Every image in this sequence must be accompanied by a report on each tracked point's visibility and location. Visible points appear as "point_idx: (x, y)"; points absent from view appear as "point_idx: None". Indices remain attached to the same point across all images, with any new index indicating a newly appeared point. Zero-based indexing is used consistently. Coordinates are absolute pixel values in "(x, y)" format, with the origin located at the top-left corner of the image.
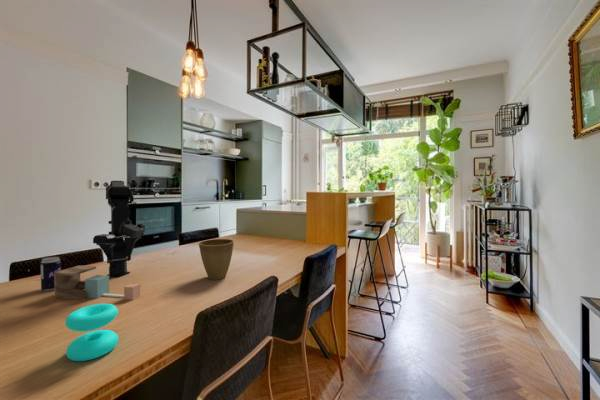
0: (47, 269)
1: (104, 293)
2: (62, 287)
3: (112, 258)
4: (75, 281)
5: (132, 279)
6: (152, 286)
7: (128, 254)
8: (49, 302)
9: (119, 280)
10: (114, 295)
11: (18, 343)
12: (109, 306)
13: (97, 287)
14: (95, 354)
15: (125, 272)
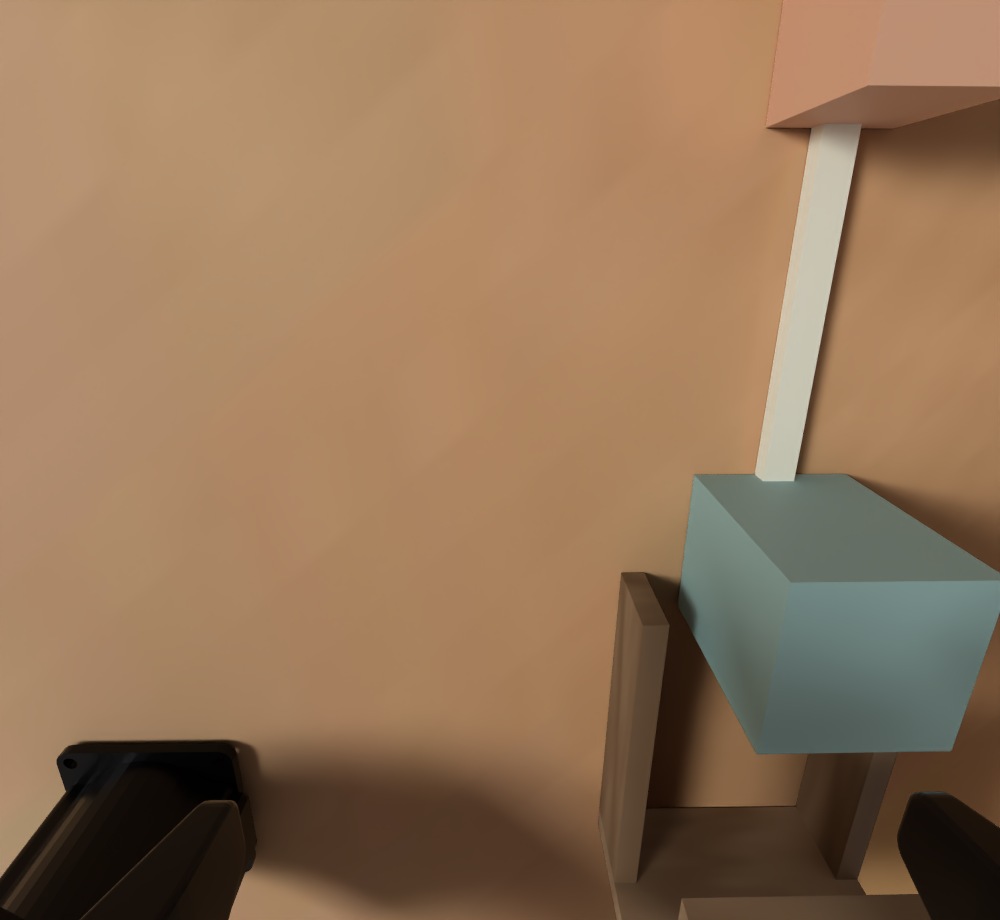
0: None
1: (766, 481)
2: (796, 874)
3: (973, 831)
4: (670, 892)
5: (241, 561)
6: (398, 80)
7: (242, 853)
8: (921, 765)
9: (317, 666)
10: (823, 321)
11: None
12: None
13: (925, 527)
14: None
15: (111, 771)
